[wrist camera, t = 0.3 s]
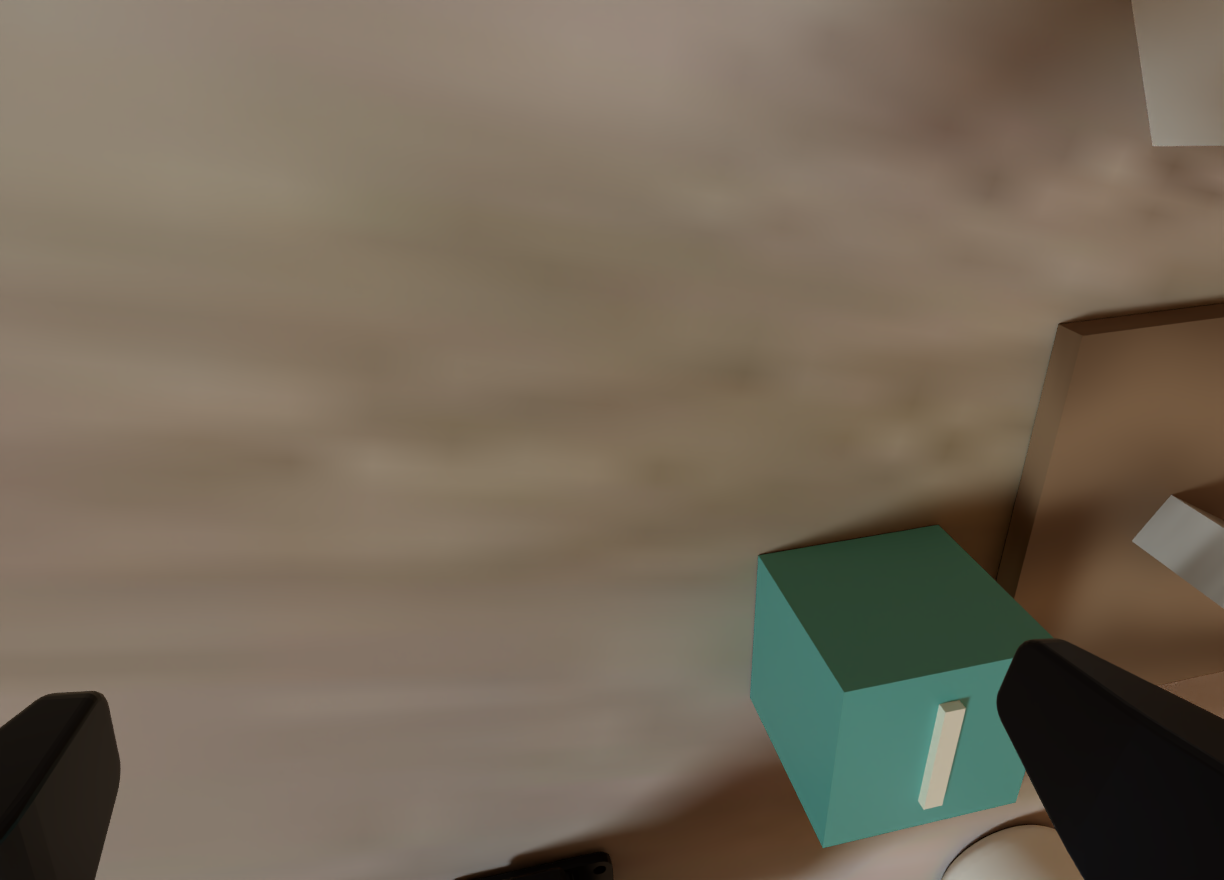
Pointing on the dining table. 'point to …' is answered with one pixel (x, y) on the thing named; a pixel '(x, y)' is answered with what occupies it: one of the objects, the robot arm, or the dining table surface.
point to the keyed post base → (1128, 494)
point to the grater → (1182, 69)
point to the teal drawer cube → (886, 680)
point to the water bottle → (1015, 857)
